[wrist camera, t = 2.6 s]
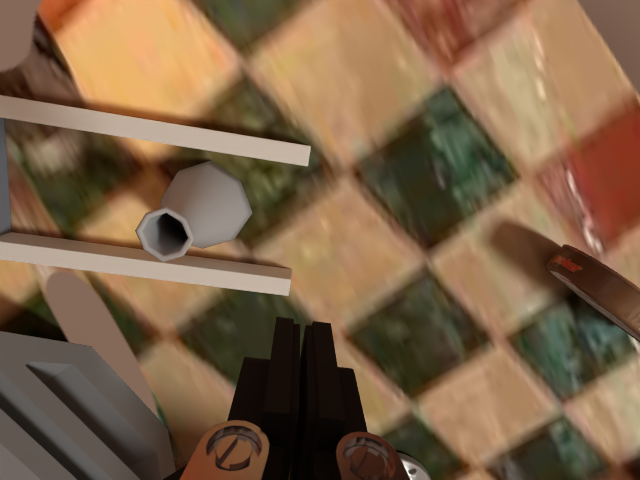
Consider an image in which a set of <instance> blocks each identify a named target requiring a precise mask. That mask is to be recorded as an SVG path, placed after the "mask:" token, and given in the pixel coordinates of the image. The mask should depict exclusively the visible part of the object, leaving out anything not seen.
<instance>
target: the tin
mask: <svg viewBox="0 0 640 480" xmlns="http://www.w3.org/2000/svg"><path fill="white" fill-rule="evenodd" d="M546 269H547V270H548V271H549V272H550V273H551V274H552V275H554V276H555V277H556V278H557V279H558V280H560V281H561V282H562V283H563V284H565V285H566V286H567V287H568V288H569V289H571V290H572V291H573V292H574V293H576V294H577V295H578V296H579V297H580V298H582V299H583V300H584V301H585V302H587V303H588V304H589V305H590V306H592V307H593V308H594V309H596V310H597V311H598V312H600V313H601V314H602V315H604V316H605V317H606V318H608V319H609V320H610V321H611V322H613V323H614V324H615V325H617V326H618V327H620V328H621V329H622V330H624V331H625V332H626V333H628V334H629V335H630V336H632V337H633V338H635V339H636V340H637V341H639V342H640V288H638V287H637V286H636V285H635V284H633V283H632V282H630V281H629V280H627V279H626V278H624V277H623V276H621V275H620V274H618V273H617V272H615V271H614V270H612V269H611V268H609V267H608V266H606V265H604V264H603V263H601V262H600V261H598V260H596V259H595V258H593V257H591V256H589V255H588V254H586V253H584V252H582V251H580V250H578V249H576V248H574V247H572V246H569V245H566V244H564V245H563V246H562V248H561V249H560V250H559V251H558V252H557V253H556V254H555V255H554V256H553V257H552V258H551V259H550V260H549V262H548V263H547V264H546Z"/></svg>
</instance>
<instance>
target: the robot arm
mask: <svg viewBox="0 0 640 480" xmlns="http://www.w3.org/2000/svg"><path fill="white" fill-rule="evenodd" d="M289 470H290V480H431V478H430V476H429V474H428V472H427V470H426V469H425V468H424V467H423V466H422V465H421V464H420V463H419V462H418V461H416V460H415V459H414V458H412V457H410V456H407V455H405V454H402V453H398V452H396V450H395V448H394V447H392V446H391V445H390V444H389V443H388V442H387V441H386V440H384V439H383V438H381V437H379V436H377V435H374V434H372V433H369V432H368V431H367V427H366V422H365V418H364V414H363V409H362V405H361V400H360V396H359V391H358V387H357V382H356V378H355V373H354V370H353V369H351V368H342V367H337V361H336V354H335V348H334V341H333V335H332V328H331V323H323V322H315V321H313V323H312V326H309V325H306V327H305V332H304V338H303V344H302V350H301V356H300V324H294V319H290V318H282V317H276V324H275V331H274V338H273V345H272V352H271V359H270V360H269V359H260V358H251V357H244V360H243V364H242V368H241V371H240V375H239V379H238V383H237V386H236V390H235V394H234V398H233V402H232V405H231V409H230V413H229V417H228V420H227V421H225V422H222V423H220V424H217V425H215V426H214V427H212V428H211V429H210V430H208V431H207V432H206V433H205V435H204V436H203V437H202V439H201V440H200V442H199V444H198V446H197V448H196V450H195V451H194V453H193V455H192V457H191V459H190V461H189V463H188V465H186V466H184V467H183V468H181V469H179V470H178V471H176V472H174V473H173V474H171V475H169V476H168V477H166V478H164V479H163V480H288V476H289Z"/></svg>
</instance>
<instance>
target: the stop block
mask: <svg viewBox="0 0 640 480" xmlns="http://www.w3.org/2000/svg"><path fill="white" fill-rule="evenodd" d="M10 232H12V227H11V212H10V198H9V184H8V170H7V156H6V141H5V127H4V118H2V117H0V236H1V235H4V234H7V233H10Z"/></svg>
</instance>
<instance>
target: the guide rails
mask: <svg viewBox="0 0 640 480" xmlns="http://www.w3.org/2000/svg"><path fill="white" fill-rule="evenodd" d="M0 117H2V118H8V119H14V120H20V121H27V122H33V123H39V124H45V125H52V126H58V127H64V128H71V129H77V130H83V131H89V132H96V133H102V134H108V135H115V136H121V137H127V138H133V139H140V140H146V141H152V142H158V143H165V144H171V145H177V146H184V147H190V148H196V149H202V150H209V151H215V152H221V153H228V154H234V155H240V156H246V157H253V158H259V159H265V160H271V161H278V162H284V163H290V164H297V165H303V166H308V161H309V154H310V147H311V146H307V145H301V144H295V143H289V142H283V141H277V140H271V139H265V138H259V137H252V136H246V135H240V134H234V133H228V132H222V131H216V130H210V129H204V128H198V127H192V126H186V125H180V124H173V123H167V122H161V121H155V120H149V119H143V118H137V117H131V116H125V115H119V114H113V113H107V112H100V111H94V110H88V109H82V108H76V107H70V106H64V105H58V104H52V103H46V102H40V101H34V100H28V99H21V98H15V97H9V96H3V95H0ZM0 259H1V260H9V261H17V262H24V263H32V264H40V265H48V266H56V267H64V268H72V269H80V270H88V271H96V272H104V273H112V274H120V275H127V276H135V277H143V278H151V279H159V280H167V281H175V282H183V283H191V284H199V285H207V286H215V287H223V288H230V289H238V290H246V291H254V292H262V293H270V294H278V295H286V296H289V289H290V283H291V273H292V269H286V268H279V267H271V266H263V265H256V264H248V263H241V262H233V261H226V260H218V259H211V258H203V257H196V256H188V255H184V256H181V257H178V258H175V259H171V260H168V261H165V262H162V261H161V260H159V259H157V258H156V257H154V256H153V255H151V254H149V253H148V252H146V251H144V250H143V249H136V248H128V247H121V246H113V245H106V244H98V243H91V242H83V241H75V240H68V239H60V238H53V237H45V236H38V235H30V234H23V233H15V232H10V233H7V234H4V235H1V236H0Z"/></svg>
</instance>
